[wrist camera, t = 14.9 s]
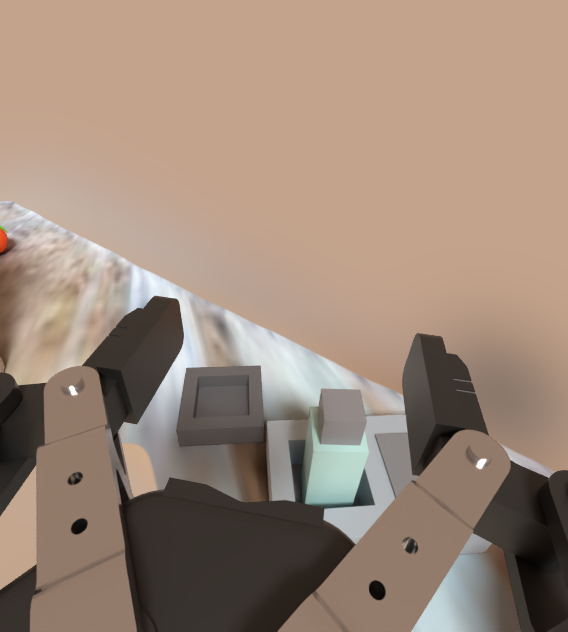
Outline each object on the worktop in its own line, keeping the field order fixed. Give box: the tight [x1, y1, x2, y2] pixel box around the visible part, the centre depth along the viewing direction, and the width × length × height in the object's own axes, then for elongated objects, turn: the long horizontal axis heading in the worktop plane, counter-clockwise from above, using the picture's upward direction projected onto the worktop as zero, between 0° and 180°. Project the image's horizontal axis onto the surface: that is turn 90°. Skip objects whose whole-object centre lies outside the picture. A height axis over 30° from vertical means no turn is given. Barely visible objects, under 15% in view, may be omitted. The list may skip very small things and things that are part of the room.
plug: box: [301, 389, 369, 509], centre depth 34 cm, size 4×4×14 cm
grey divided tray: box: [266, 414, 493, 555], centre depth 37 cm, size 20×12×6 cm, turn 95°
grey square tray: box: [176, 366, 264, 446], centre depth 46 cm, size 10×10×3 cm
